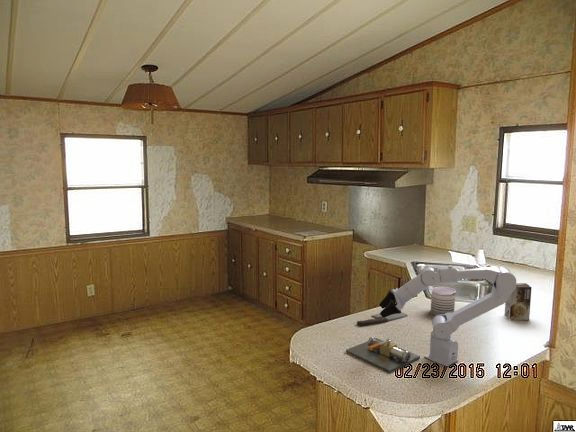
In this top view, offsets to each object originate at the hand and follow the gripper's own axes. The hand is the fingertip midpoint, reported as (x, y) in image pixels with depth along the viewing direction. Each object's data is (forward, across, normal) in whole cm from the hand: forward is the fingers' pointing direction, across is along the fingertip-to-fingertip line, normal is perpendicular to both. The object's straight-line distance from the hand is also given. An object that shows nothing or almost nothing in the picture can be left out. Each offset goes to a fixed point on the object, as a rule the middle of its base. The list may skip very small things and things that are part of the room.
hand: (381, 310), depth 167 cm
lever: (+7, +9, +7) cm, 13 cm away
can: (-9, -46, +38) cm, 60 cm away
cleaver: (+13, -33, +17) cm, 39 cm away
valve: (+10, +6, +12) cm, 17 cm away
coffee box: (-34, -46, +60) cm, 83 cm away
